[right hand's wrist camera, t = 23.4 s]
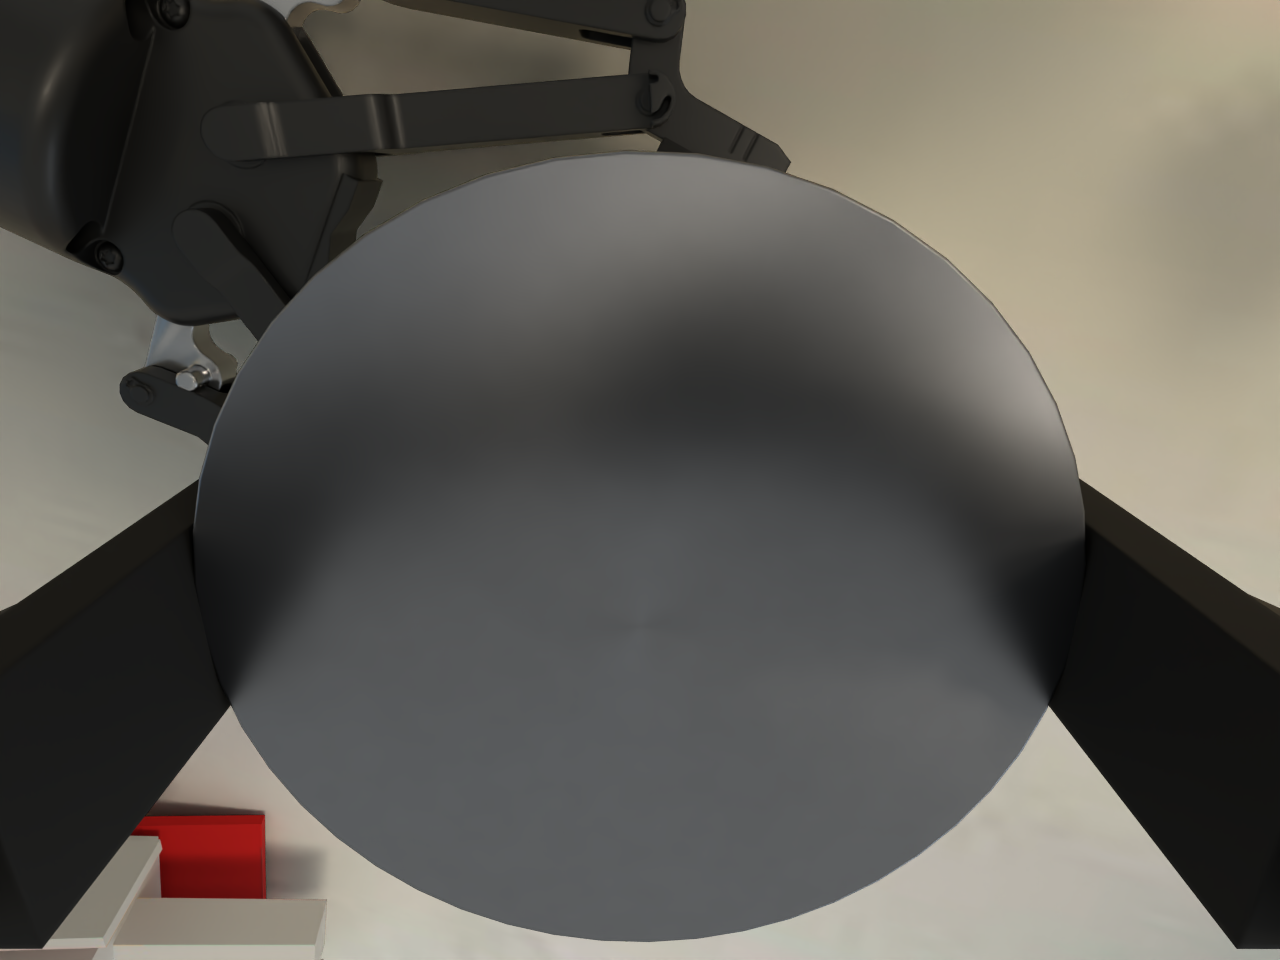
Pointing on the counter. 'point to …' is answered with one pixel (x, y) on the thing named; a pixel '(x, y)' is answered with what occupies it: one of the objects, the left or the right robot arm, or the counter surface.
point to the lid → (639, 546)
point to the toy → (187, 900)
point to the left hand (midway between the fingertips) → (765, 441)
